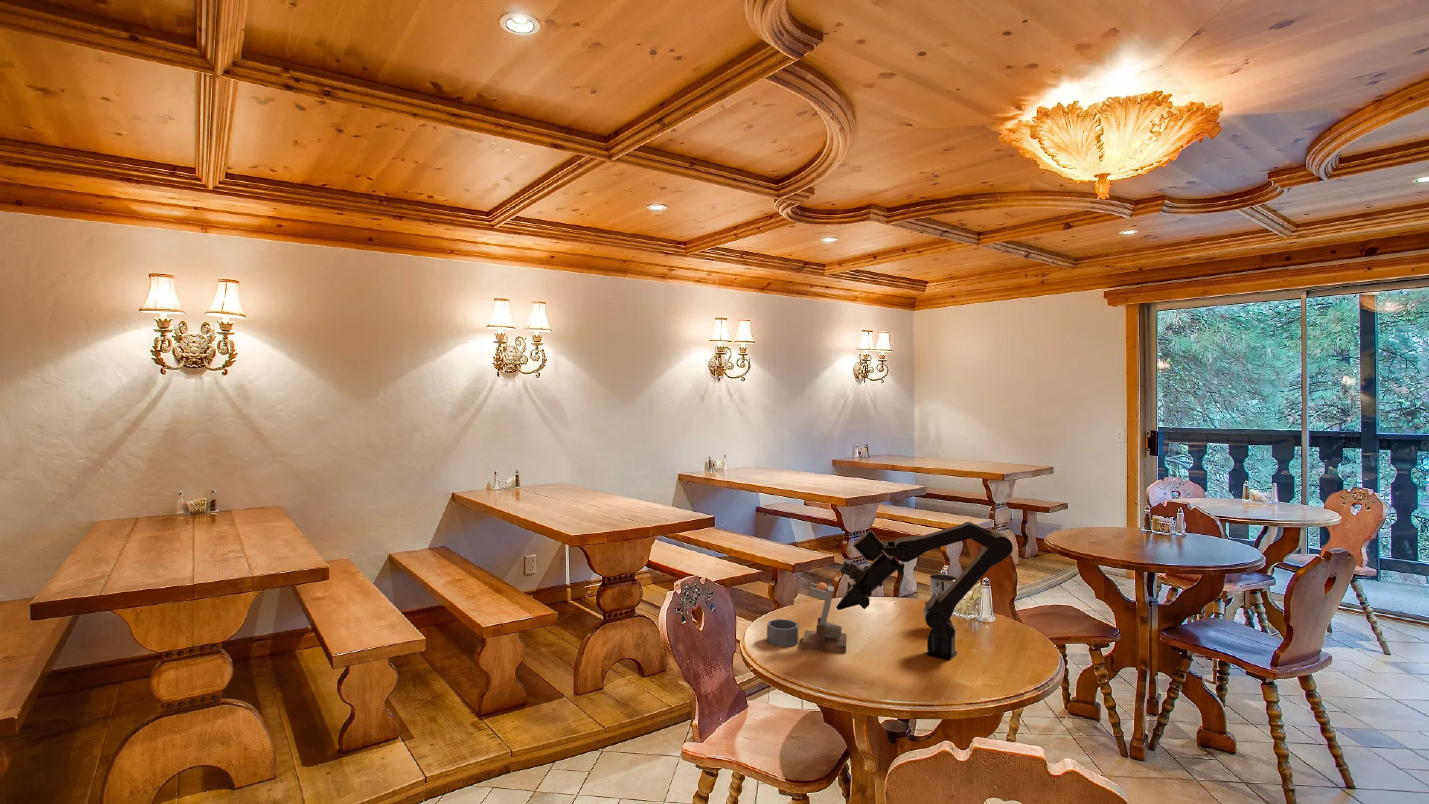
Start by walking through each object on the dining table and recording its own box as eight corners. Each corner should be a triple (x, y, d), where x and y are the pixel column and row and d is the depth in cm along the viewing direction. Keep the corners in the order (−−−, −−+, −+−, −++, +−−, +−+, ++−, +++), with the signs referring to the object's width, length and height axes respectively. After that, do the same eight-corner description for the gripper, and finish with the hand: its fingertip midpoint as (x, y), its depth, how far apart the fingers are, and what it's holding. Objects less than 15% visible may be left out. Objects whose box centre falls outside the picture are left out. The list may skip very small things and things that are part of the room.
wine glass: (923, 622, 223) (924, 575, 223) (944, 620, 226) (945, 573, 226) (940, 631, 216) (940, 581, 216) (961, 628, 219) (962, 579, 218)
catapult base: (846, 640, 207) (846, 618, 207) (845, 653, 197) (846, 629, 197) (804, 637, 209) (805, 615, 209) (802, 649, 200) (802, 626, 199)
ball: (828, 594, 204) (830, 583, 203) (823, 596, 201) (825, 585, 201) (818, 591, 205) (820, 580, 205) (813, 592, 203) (815, 581, 203)
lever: (840, 634, 205) (850, 591, 204) (839, 641, 200) (850, 596, 199) (801, 623, 207) (811, 580, 207) (799, 629, 202) (810, 585, 201)
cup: (799, 637, 209) (799, 620, 209) (796, 648, 201) (796, 630, 200) (769, 635, 211) (769, 618, 211) (765, 645, 202) (766, 628, 202)
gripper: (857, 543, 210) (819, 578, 213) (857, 558, 192) (815, 596, 194) (884, 572, 209) (845, 606, 211) (887, 589, 190) (844, 627, 193)
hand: (837, 608), depth 202 cm, fingers closed
